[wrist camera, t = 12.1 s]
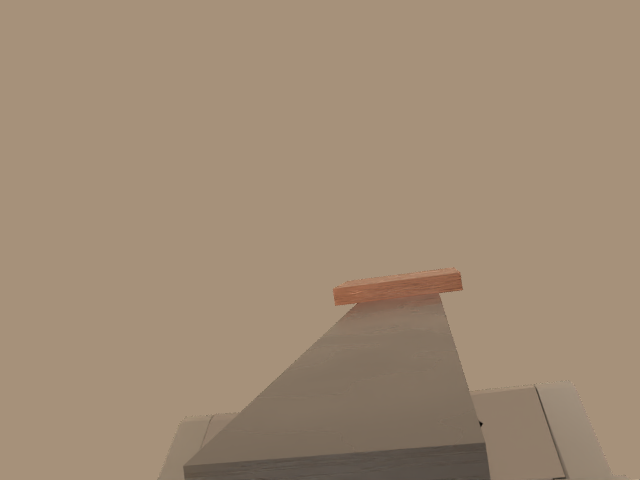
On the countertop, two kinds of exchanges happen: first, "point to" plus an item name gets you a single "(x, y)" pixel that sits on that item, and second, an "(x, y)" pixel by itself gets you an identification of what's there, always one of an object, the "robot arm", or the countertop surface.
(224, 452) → the paddle lever
